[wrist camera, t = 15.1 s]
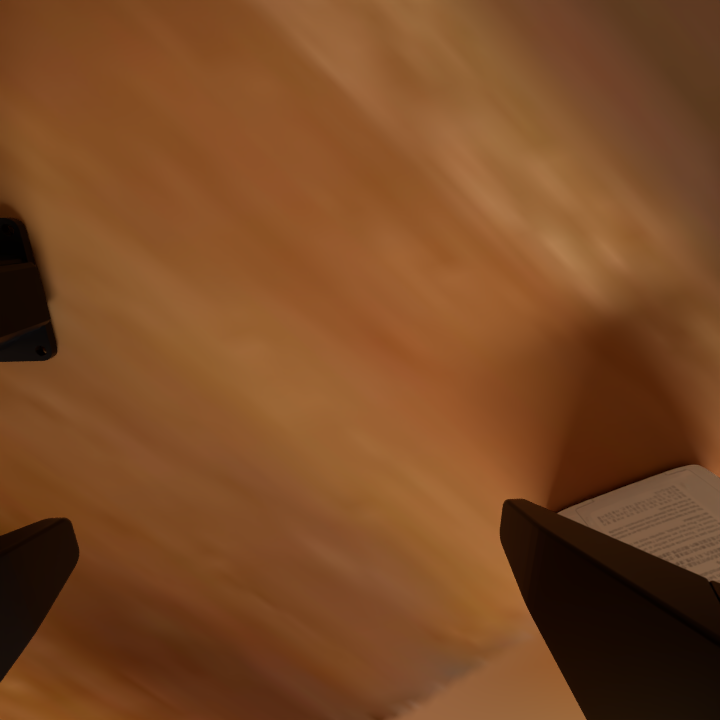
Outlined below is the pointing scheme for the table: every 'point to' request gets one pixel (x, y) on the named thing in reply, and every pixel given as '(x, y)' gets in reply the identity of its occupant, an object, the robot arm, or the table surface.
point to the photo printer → (663, 517)
